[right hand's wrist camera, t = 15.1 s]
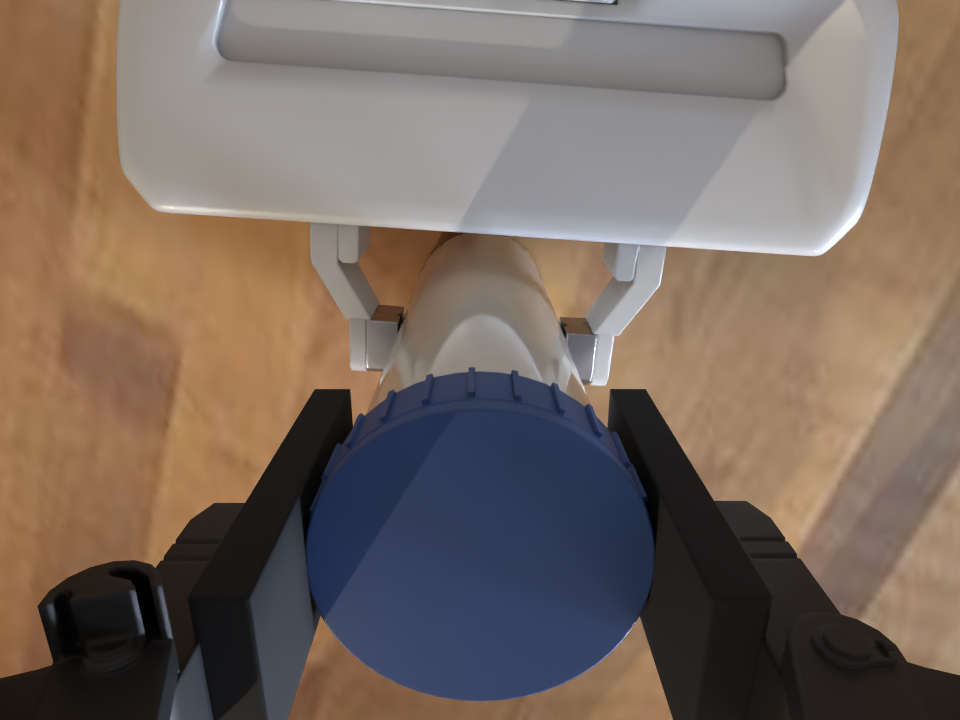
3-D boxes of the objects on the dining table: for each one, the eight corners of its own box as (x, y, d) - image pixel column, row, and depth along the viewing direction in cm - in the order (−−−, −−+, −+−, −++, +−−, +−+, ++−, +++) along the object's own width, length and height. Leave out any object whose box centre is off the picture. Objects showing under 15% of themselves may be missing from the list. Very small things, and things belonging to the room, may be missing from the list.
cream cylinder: (396, 316, 27) (274, 598, 11) (455, 207, 26) (415, 353, 10) (502, 372, 28) (532, 710, 12) (566, 270, 27) (698, 501, 11)
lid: (271, 561, 12) (242, 622, 11) (413, 304, 11) (402, 334, 9) (533, 678, 13) (539, 749, 12) (701, 459, 12) (734, 510, 10)
